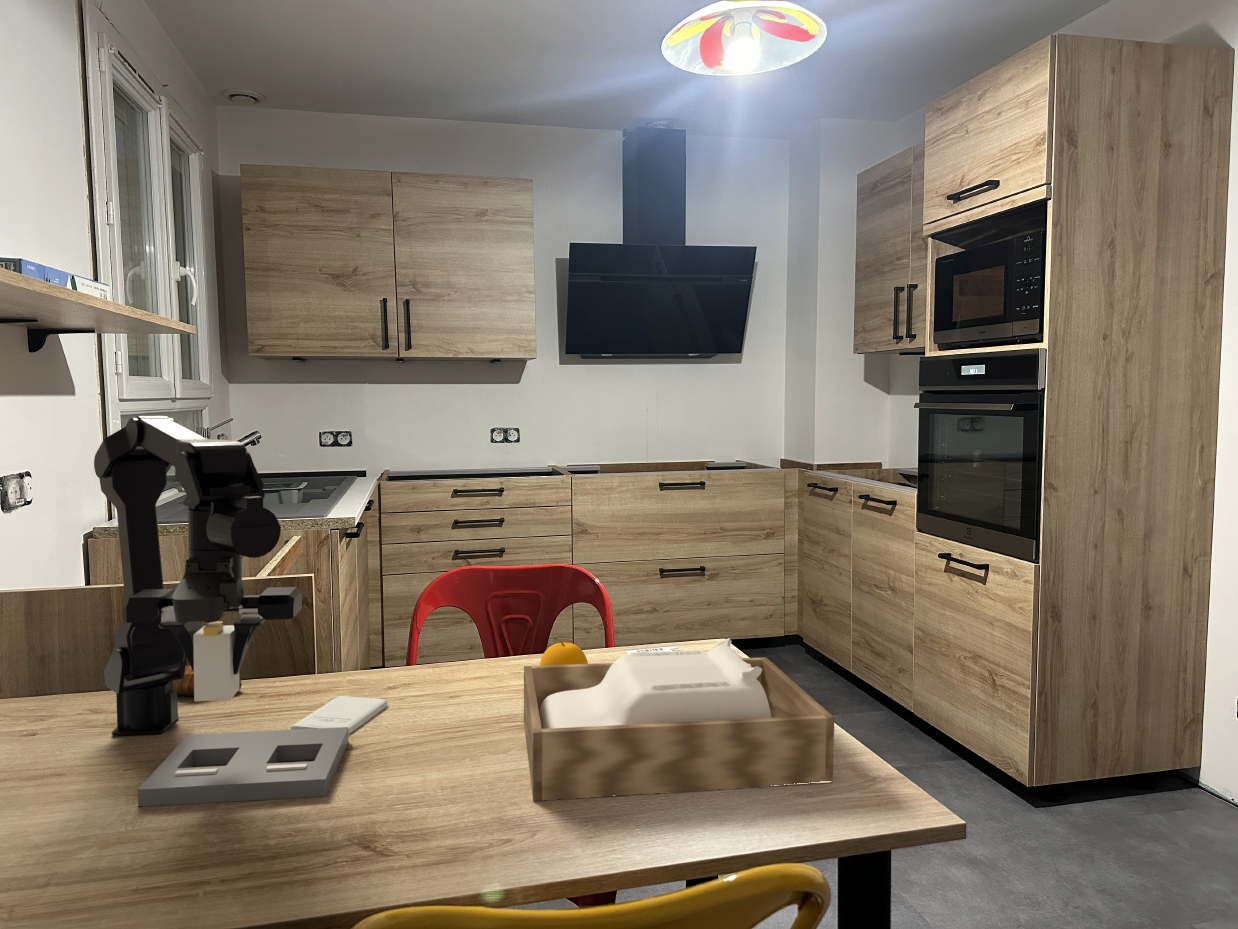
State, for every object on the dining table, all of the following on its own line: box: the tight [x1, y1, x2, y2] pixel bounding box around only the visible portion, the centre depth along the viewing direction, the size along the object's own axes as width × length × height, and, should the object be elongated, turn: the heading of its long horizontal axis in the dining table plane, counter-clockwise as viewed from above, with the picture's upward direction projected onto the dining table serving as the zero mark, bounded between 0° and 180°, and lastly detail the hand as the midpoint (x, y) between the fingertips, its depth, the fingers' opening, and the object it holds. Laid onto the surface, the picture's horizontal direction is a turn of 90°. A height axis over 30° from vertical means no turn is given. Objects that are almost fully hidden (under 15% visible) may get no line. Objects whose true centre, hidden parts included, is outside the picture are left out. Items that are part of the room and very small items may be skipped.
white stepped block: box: [539, 637, 771, 729], centre depth 109 cm, size 19×30×13 cm, turn 99°
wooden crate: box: [523, 657, 836, 802], centre depth 110 cm, size 36×25×8 cm
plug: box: [193, 620, 241, 702], centre depth 101 cm, size 4×5×9 cm
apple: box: [539, 642, 589, 666], centre depth 134 cm, size 8×8×8 cm
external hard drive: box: [290, 695, 388, 735], centre depth 120 cm, size 2×8×12 cm
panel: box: [137, 727, 349, 807], centre depth 102 cm, size 20×16×2 cm
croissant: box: [173, 664, 242, 697], centre depth 130 cm, size 14×7×5 cm, turn 93°
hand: (217, 674), depth 101 cm, fingers closed on plug, 4 cm apart
